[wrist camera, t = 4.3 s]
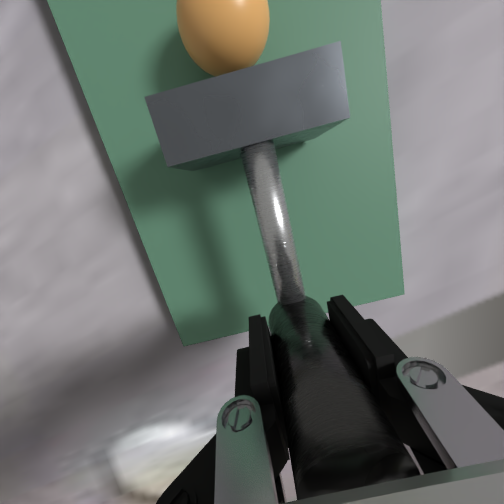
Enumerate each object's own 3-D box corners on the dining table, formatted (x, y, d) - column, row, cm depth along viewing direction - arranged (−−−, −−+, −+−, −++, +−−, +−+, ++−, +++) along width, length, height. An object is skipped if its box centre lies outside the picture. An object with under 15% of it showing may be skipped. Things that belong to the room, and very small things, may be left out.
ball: (273, 79, 13) (284, 37, 9) (201, 99, 13) (184, 66, 9) (255, -13, 12) (260, -103, 8) (177, 10, 12) (146, -67, 8)
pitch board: (392, 285, 18) (404, 294, 17) (188, 333, 19) (183, 346, 18) (346, -192, 11) (360, -246, 10) (27, -88, 12) (-3, -124, 11)
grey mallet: (340, 293, 16) (514, 501, 6) (238, 317, 17) (226, 557, 6) (306, 90, 13) (582, -311, 2) (179, 125, 13) (-82, -89, 3)
